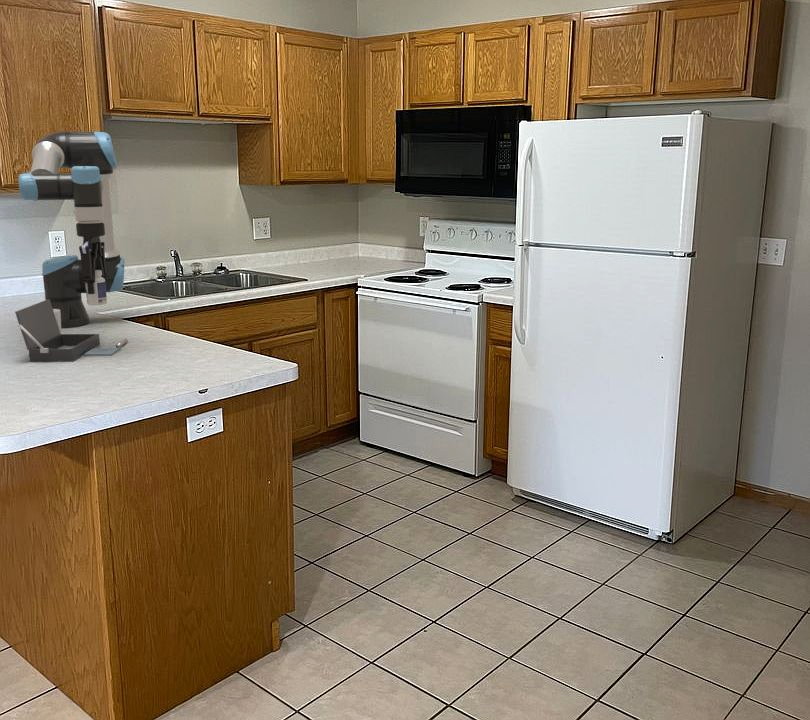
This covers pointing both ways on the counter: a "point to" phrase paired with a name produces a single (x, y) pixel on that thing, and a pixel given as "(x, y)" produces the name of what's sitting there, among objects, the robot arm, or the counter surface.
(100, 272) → the pill bottle
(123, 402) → the counter surface
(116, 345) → the rod
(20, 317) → the case
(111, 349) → the mat
